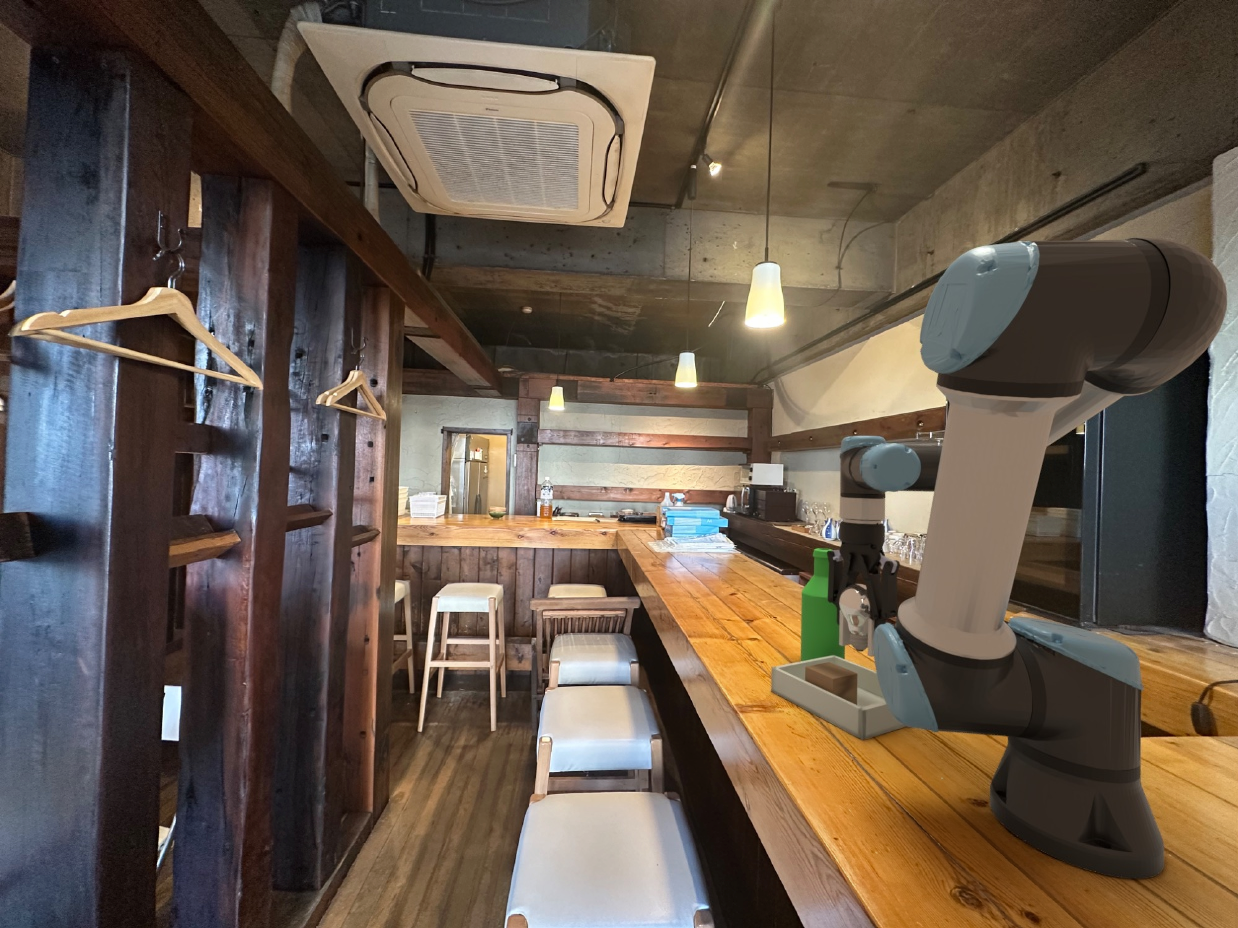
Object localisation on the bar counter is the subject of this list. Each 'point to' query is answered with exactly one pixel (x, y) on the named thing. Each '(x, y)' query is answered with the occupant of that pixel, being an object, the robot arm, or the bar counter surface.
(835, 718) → the tray
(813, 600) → the bottle
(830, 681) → the walnut block
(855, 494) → the robot arm
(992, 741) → the bar counter surface
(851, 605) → the light bulb
